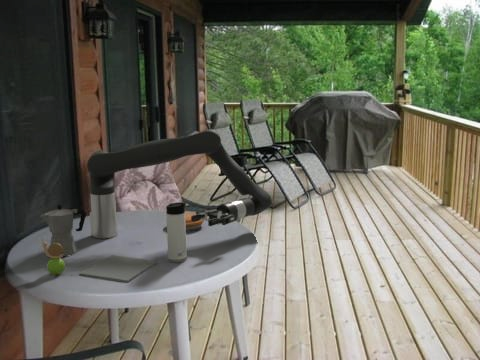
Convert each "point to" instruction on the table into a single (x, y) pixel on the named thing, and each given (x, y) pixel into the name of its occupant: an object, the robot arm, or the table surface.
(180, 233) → the travel mug
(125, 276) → the mat
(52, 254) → the snail figurine
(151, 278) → the table surface
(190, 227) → the pie
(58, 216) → the coffeepot
